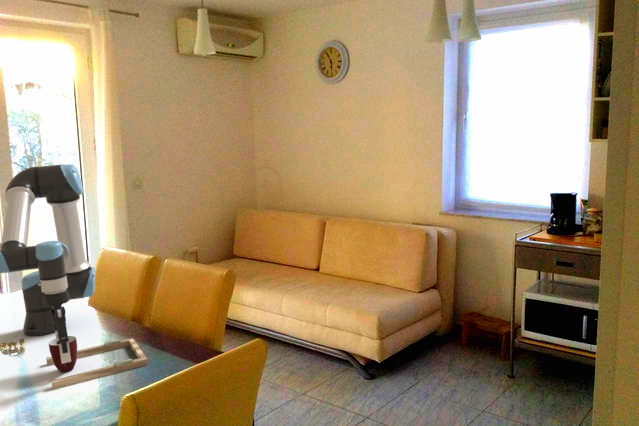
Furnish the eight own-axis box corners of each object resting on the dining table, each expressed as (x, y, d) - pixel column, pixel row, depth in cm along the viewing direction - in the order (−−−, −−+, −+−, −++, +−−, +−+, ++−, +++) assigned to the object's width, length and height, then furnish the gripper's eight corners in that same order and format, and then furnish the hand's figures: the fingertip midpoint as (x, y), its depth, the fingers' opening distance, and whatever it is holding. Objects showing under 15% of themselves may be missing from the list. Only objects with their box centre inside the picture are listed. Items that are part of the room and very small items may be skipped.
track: (47, 363, 187) (45, 356, 187) (133, 343, 201) (132, 336, 200) (52, 389, 168) (51, 381, 167) (147, 364, 181) (146, 356, 181)
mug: (80, 374, 177) (76, 344, 175) (52, 380, 174) (48, 350, 172) (79, 362, 186) (75, 334, 185) (53, 368, 183) (48, 339, 182)
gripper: (39, 285, 185) (48, 346, 188) (44, 302, 163) (54, 371, 166) (64, 281, 188) (72, 341, 191) (72, 297, 167) (81, 365, 170)
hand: (64, 355), depth 179 cm, fingers open, 13 cm apart
